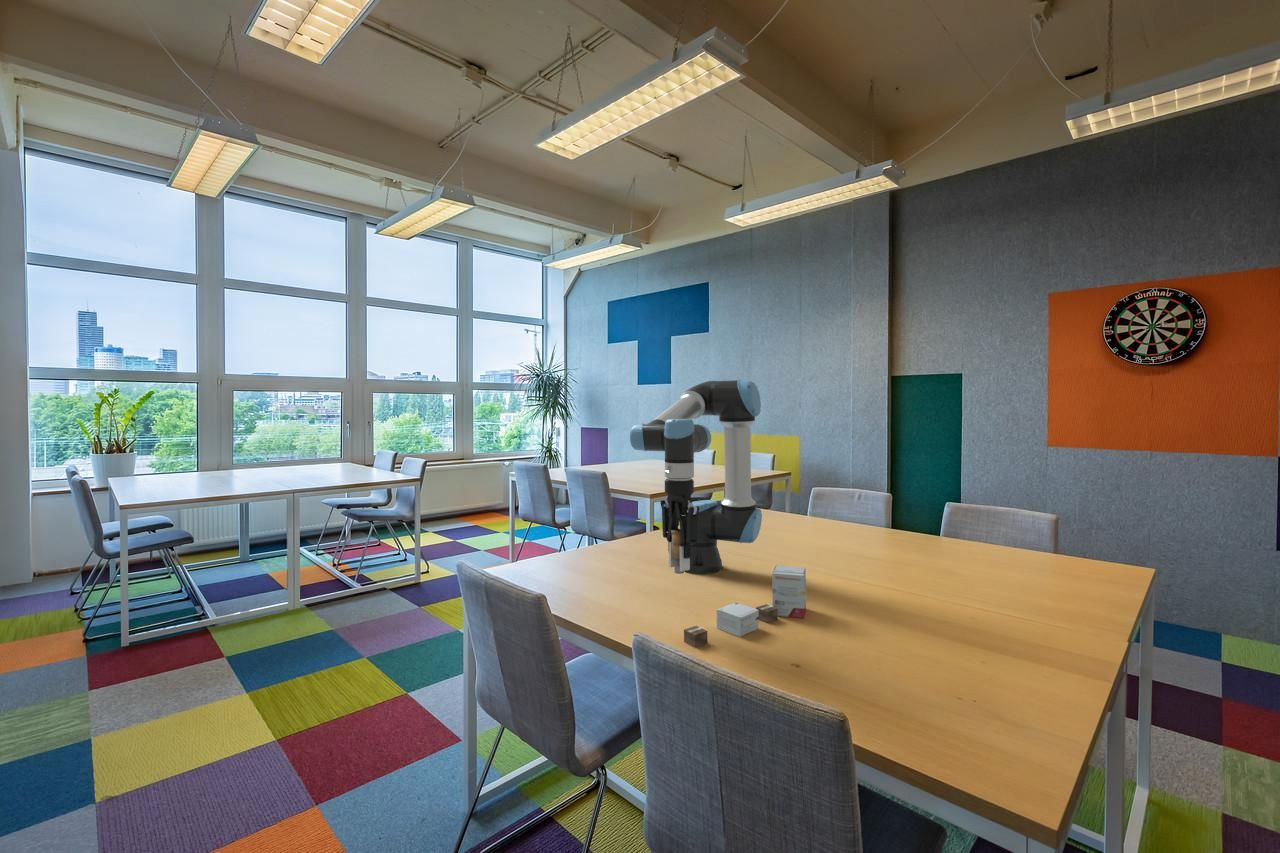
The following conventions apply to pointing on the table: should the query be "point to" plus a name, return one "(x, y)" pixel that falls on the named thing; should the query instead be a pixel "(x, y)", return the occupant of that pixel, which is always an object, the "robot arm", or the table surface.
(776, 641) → the table surface
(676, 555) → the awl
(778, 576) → the ink box
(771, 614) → the joist marker
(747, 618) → the small box
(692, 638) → the joist marker
